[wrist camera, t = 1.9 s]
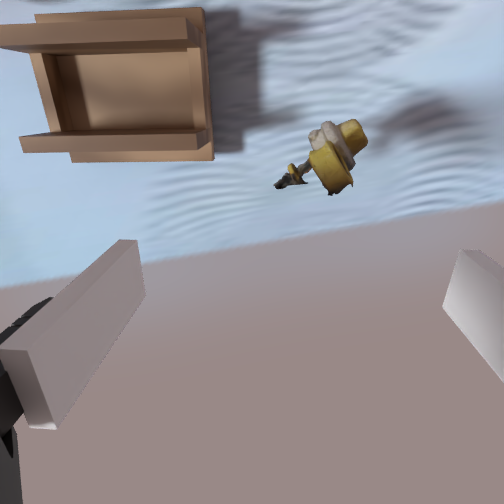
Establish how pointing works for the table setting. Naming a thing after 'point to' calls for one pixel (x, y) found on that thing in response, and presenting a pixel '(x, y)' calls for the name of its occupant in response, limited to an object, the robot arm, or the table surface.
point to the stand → (120, 84)
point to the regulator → (329, 156)
